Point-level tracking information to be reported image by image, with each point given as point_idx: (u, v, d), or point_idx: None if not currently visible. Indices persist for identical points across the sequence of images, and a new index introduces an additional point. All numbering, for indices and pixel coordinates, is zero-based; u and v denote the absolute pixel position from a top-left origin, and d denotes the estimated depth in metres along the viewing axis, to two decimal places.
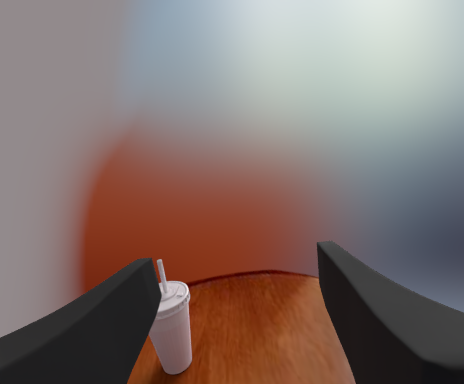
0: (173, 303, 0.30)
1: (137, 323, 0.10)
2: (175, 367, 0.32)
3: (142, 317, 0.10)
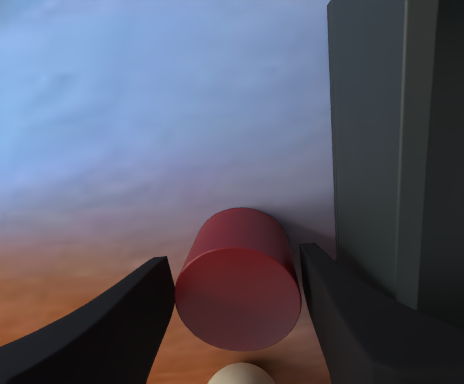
0: None
1: (155, 322, 0.10)
2: None
3: (159, 316, 0.10)
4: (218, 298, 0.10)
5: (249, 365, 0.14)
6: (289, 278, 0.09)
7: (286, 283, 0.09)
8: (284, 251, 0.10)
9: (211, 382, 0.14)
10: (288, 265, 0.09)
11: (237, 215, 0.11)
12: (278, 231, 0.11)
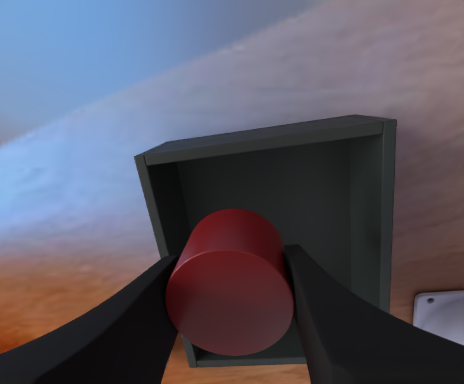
0: None
1: (168, 321, 0.10)
2: None
3: None
4: (210, 301, 0.09)
5: None
6: (281, 281, 0.09)
7: (279, 285, 0.09)
8: (277, 253, 0.10)
9: None
10: (281, 267, 0.09)
11: (229, 216, 0.11)
12: (271, 232, 0.11)
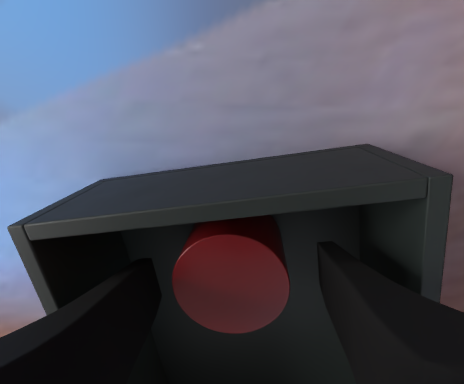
0: None
1: (137, 323, 0.10)
2: None
3: (142, 317, 0.10)
4: (213, 283, 0.10)
5: None
6: (278, 263, 0.10)
7: (276, 267, 0.10)
8: (274, 239, 0.11)
9: None
10: (278, 251, 0.10)
11: None
12: (269, 221, 0.12)
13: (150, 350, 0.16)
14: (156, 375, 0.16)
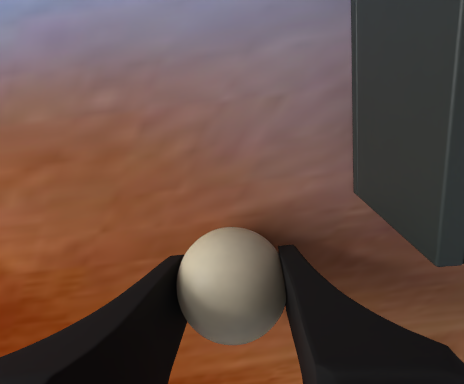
0: None
1: (174, 321, 0.10)
2: None
3: (178, 315, 0.10)
4: None
5: None
6: None
7: None
8: None
9: None
10: None
11: None
12: None
13: None
14: None
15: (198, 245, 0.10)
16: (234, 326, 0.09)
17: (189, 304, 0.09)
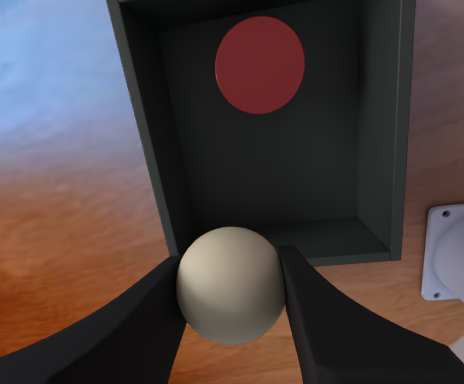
0: None
1: (174, 321, 0.10)
2: None
3: (178, 315, 0.10)
4: (247, 63, 0.14)
5: None
6: (297, 41, 0.13)
7: (295, 45, 0.13)
8: None
9: None
10: None
11: None
12: None
13: (184, 180, 0.19)
14: (189, 204, 0.19)
15: (197, 244, 0.10)
16: (233, 326, 0.09)
17: (188, 303, 0.09)
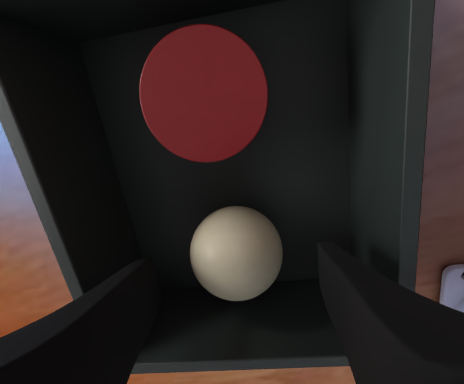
0: None
1: (137, 323, 0.10)
2: None
3: (142, 317, 0.10)
4: (184, 93, 0.09)
5: None
6: (254, 60, 0.09)
7: (252, 66, 0.09)
8: None
9: None
10: None
11: None
12: None
13: (127, 233, 0.15)
14: None
15: (208, 219, 0.12)
16: (239, 281, 0.11)
17: (202, 265, 0.11)
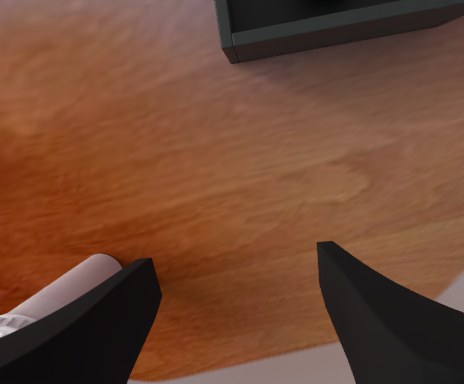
0: None
1: (137, 323, 0.10)
2: (115, 271, 0.23)
3: (142, 317, 0.10)
4: None
5: None
6: None
7: None
8: None
9: None
10: None
11: None
12: None
13: None
14: (230, 0, 0.16)
15: None
16: None
17: None
